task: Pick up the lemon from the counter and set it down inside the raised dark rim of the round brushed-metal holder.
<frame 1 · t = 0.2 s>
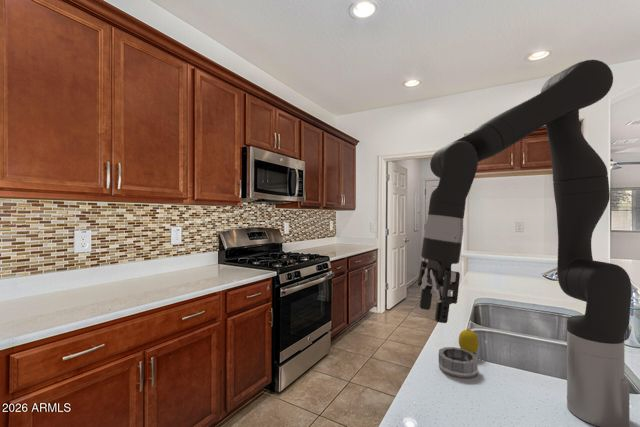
hand: (432, 315, 64), 22 cm above the counter, tool pointing down, fingers open, 8 cm apart
holder: (457, 369, 85), on the counter
lemon: (468, 355, 94), on the counter
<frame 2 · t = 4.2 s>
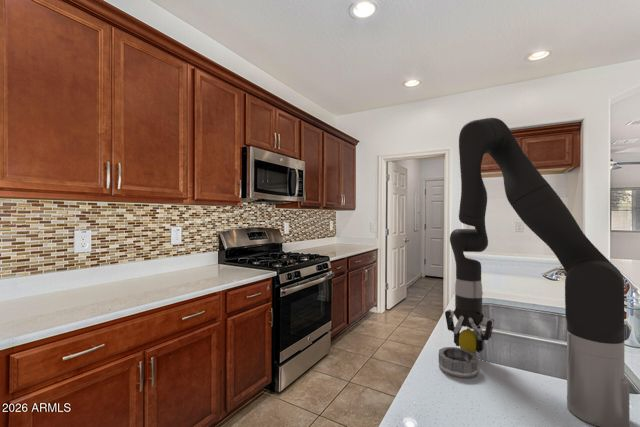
hand: (468, 348, 94), 2 cm above the counter, tool pointing down, fingers closed on lemon, 5 cm apart
lemon: (468, 355, 94), on the counter, touching gripper
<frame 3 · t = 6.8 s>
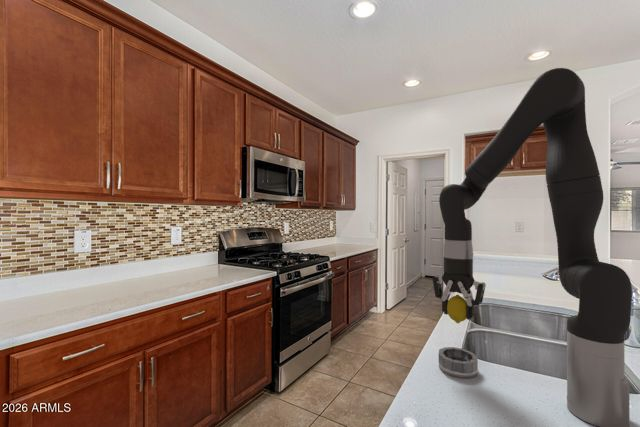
hand: (457, 316, 85), 15 cm above the counter, tool pointing down, fingers closed on lemon, 5 cm apart
lemon: (457, 324, 85), point 13 cm above the counter, touching gripper
when the fingers open (5 cm above the counter, at t = 9.3 s): lemon drops 2 cm, resting on holder.
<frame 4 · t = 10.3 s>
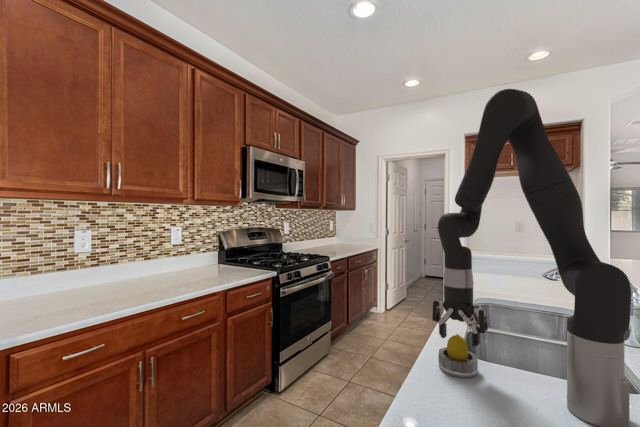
hand: (458, 341, 86), 8 cm above the counter, tool pointing down, fingers open, 8 cm apart
lemon: (457, 364, 85), point 1 cm above the counter, touching holder
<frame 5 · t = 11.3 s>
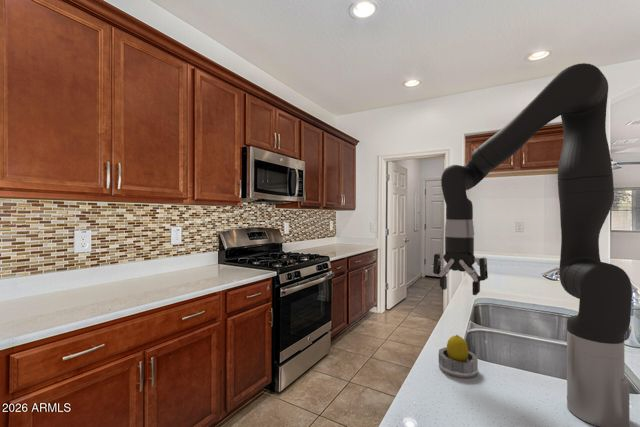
hand: (459, 291, 87), 21 cm above the counter, tool pointing down, fingers open, 8 cm apart
nothing on the counter moved.
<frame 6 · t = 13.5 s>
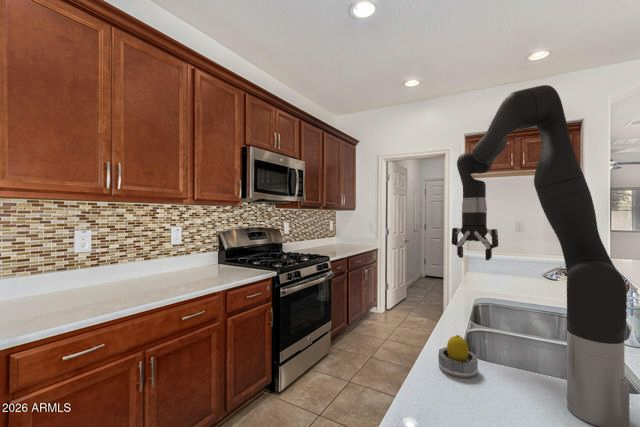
hand: (474, 258, 104), 28 cm above the counter, tool pointing down, fingers open, 8 cm apart
nothing on the counter moved.
at the end: lemon 0.0 cm off-centre on the holder, point 1.3 cm above the holder's base; the gripper is holding nothing; lemon touching holder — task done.
